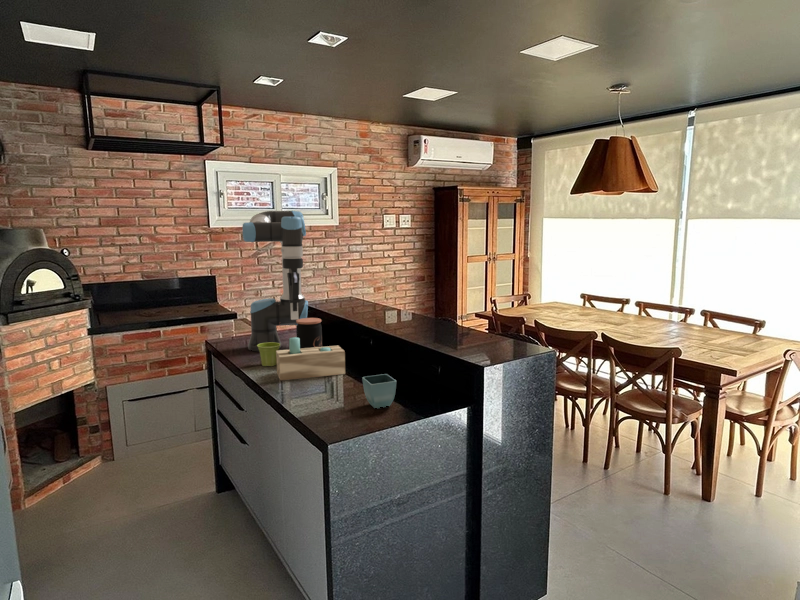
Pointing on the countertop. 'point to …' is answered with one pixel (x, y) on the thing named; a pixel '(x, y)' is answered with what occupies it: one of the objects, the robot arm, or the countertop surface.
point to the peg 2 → (325, 349)
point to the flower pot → (379, 390)
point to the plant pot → (268, 353)
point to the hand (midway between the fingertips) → (294, 319)
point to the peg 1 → (294, 345)
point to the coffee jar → (309, 332)
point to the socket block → (310, 363)
